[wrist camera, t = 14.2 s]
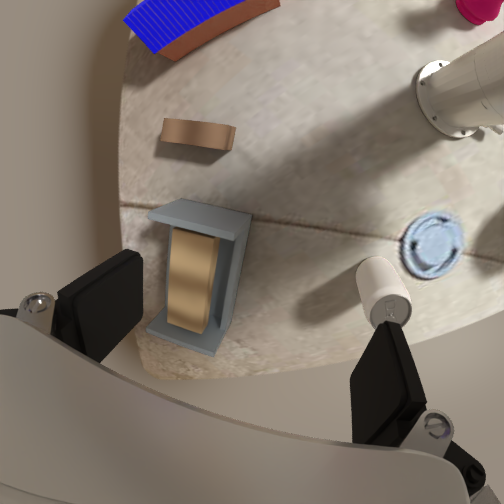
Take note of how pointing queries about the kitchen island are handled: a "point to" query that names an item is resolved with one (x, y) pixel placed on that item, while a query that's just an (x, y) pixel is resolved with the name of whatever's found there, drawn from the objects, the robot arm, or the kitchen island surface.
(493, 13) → the pepper mill
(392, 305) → the can
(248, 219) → the bed
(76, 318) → the robot arm
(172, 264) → the board
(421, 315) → the kitchen island surface
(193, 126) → the block
